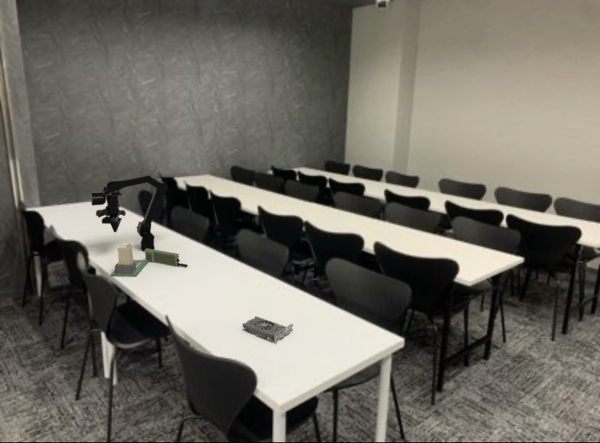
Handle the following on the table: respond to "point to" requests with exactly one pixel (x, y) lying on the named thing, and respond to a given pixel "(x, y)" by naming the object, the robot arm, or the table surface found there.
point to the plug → (125, 254)
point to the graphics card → (267, 329)
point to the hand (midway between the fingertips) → (115, 232)
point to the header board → (129, 268)
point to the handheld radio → (163, 257)
